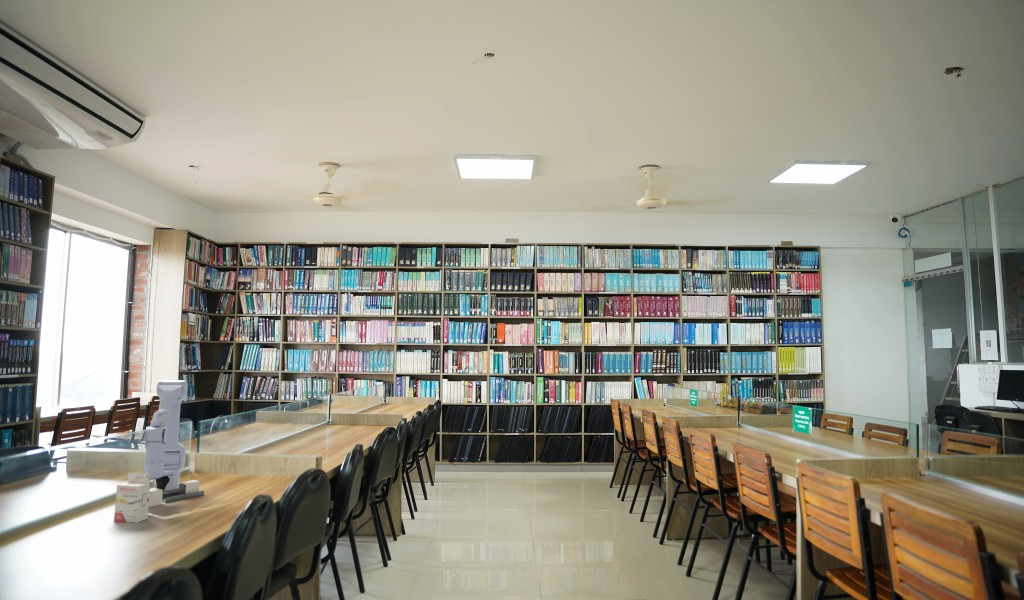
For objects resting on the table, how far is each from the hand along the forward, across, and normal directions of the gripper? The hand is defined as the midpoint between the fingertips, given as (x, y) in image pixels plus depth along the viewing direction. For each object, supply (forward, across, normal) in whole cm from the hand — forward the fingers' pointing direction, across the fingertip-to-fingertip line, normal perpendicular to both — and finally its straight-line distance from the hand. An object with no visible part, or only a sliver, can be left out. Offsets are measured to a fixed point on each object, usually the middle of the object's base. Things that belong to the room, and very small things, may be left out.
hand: (152, 500), depth 205 cm
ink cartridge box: (+2, -12, -11) cm, 17 cm away
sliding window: (+2, +11, +2) cm, 11 cm away
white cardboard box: (+1, 0, 0) cm, 1 cm away
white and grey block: (+1, +14, +2) cm, 15 cm away
